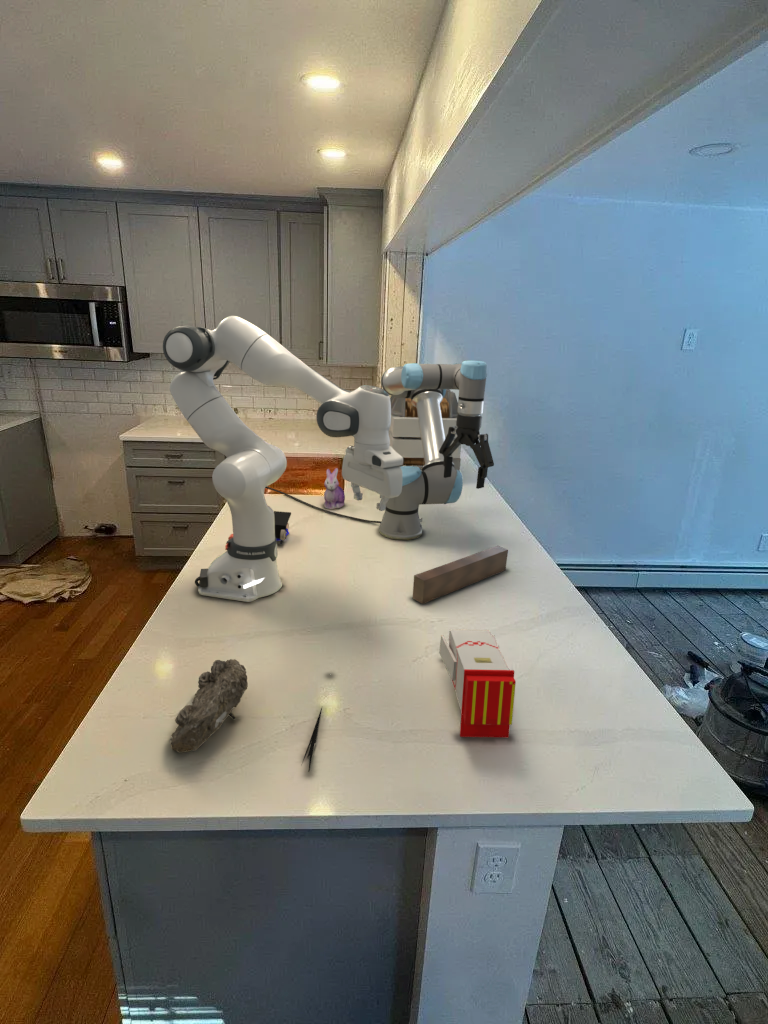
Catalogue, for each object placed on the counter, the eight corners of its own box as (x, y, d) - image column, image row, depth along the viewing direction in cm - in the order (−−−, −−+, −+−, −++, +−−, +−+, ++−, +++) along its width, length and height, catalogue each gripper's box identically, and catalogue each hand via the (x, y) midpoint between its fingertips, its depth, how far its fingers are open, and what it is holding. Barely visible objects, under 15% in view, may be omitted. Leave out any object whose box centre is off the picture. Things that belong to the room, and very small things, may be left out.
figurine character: (286, 550, 185) (292, 529, 198) (285, 530, 182) (291, 509, 195) (265, 550, 185) (273, 528, 198) (264, 529, 181) (272, 509, 195)
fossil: (195, 660, 117) (247, 628, 112) (227, 691, 120) (279, 661, 115) (146, 746, 98) (206, 711, 93) (185, 779, 101) (245, 748, 96)
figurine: (327, 510, 218) (328, 473, 213) (318, 502, 227) (318, 466, 222) (350, 508, 223) (351, 471, 218) (339, 500, 231) (340, 464, 226)
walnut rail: (422, 604, 153) (424, 580, 151) (412, 598, 156) (413, 575, 153) (505, 570, 175) (508, 549, 173) (495, 565, 178) (498, 545, 176)
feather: (331, 679, 122) (336, 673, 122) (307, 777, 96) (313, 769, 95) (324, 675, 122) (329, 669, 121) (298, 772, 95) (304, 764, 95)
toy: (489, 613, 130) (525, 677, 101) (485, 667, 133) (518, 744, 104) (437, 612, 130) (457, 676, 101) (434, 666, 133) (453, 743, 103)
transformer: (381, 463, 289) (385, 382, 275) (444, 464, 292) (450, 384, 279) (389, 482, 257) (393, 392, 243) (459, 483, 261) (467, 394, 247)
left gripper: (336, 445, 147) (335, 495, 152) (388, 463, 132) (385, 518, 137) (355, 442, 151) (354, 492, 155) (408, 459, 136) (404, 513, 141)
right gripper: (431, 408, 176) (426, 474, 183) (494, 422, 158) (486, 494, 165) (447, 406, 181) (442, 471, 188) (511, 420, 163) (502, 490, 170)
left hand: (369, 504), depth 146 cm, fingers open, 8 cm apart
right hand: (463, 482), depth 177 cm, fingers open, 13 cm apart
